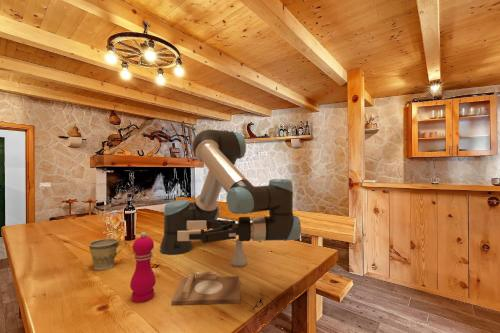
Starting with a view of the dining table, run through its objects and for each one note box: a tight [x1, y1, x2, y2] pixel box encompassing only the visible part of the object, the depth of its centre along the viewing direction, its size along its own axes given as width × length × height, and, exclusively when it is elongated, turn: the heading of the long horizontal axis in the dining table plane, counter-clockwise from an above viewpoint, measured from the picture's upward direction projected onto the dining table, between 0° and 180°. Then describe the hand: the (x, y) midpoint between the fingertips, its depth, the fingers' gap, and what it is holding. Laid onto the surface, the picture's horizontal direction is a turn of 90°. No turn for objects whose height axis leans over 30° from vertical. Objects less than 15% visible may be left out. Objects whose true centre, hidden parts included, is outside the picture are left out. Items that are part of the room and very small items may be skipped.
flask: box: [230, 238, 248, 268], centre depth 101 cm, size 7×7×10 cm
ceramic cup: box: [88, 237, 127, 271], centre depth 98 cm, size 13×10×10 cm
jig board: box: [170, 271, 241, 306], centre depth 78 cm, size 20×15×3 cm
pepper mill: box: [129, 231, 156, 303], centre depth 75 cm, size 7×7×20 cm
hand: (182, 230), depth 75 cm, fingers open, 13 cm apart
